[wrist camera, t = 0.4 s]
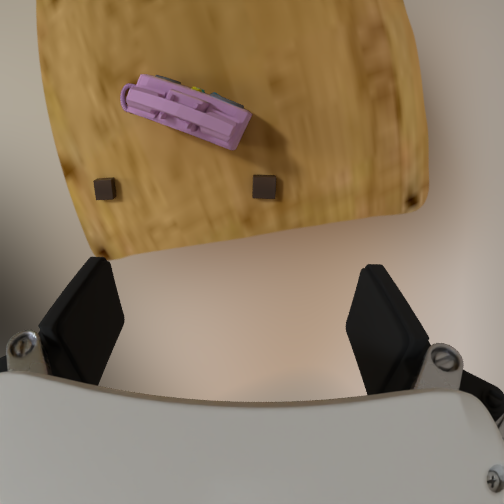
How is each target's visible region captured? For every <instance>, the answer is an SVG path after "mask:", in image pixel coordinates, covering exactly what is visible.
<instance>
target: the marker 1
mask: <svg viewBox="0 0 504 504" xmlns="http://www.w3.org/2000/svg"><path fill="white" fill-rule="evenodd" d="M94 188H95V195H96V200H110V199H114V198H115V197H116V190H115V182H114V178H100V179H96V180H94Z"/></svg>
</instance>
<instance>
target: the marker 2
mask: <svg viewBox="0 0 504 504" xmlns="http://www.w3.org/2000/svg"><path fill="white" fill-rule="evenodd" d="M275 192H276V176H275V175H253V198H263V199H275Z"/></svg>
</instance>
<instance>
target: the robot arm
mask: <svg viewBox="0 0 504 504" xmlns="http://www.w3.org/2000/svg"><path fill="white" fill-rule="evenodd" d="M123 325H124V314H123V310H122V307H121V303H120V299H119V296H118V292H117V288H116V284H115V280H114V276H113V272H112V268H111V264H110V262H109V261H107V260H106V258H104V257H90V258H89V259H88V260H87V262H86V263H85V264H84V265H83V267H82V268H81V269H80V270H79V271H78V273H77V274H76V275H75V276H74V278H73V279H72V280H71V282H70V283H69V284H68V285H67V287H66V288H65V289H64V291H63V292H62V293H61V295H60V296H59V297H58V299H57V300H56V301H55V303H54V304H53V306H52V307H51V308H50V309H49V311H48V312H47V314H46V315H45V317H44V318H43V320H42V321H41V322H40V324H39V328H40V332H39V333H36V332H35V331H33V330H24V331H21V332H19V333H17V334H15V335H14V336H13V337H12V338H11V339H10V340H9V342H8V344H7V348H6V356H4V357H1V358H0V504H504V394H503V392H502V391H501V390H500V389H499V388H498V387H496V386H494V385H492V384H490V383H488V382H486V381H484V380H482V379H480V378H478V377H476V376H474V375H472V374H470V373H469V372H466V371H465V370H463V360H462V357H461V355H460V354H459V352H458V351H457V350H456V349H454V348H453V347H451V346H450V345H447V344H444V343H436V344H433V345H430V343H429V341H428V340H429V337H428V335H427V333H426V331H425V330H424V328H423V326H422V325H421V323H420V322H419V320H418V318H417V317H416V315H415V313H414V312H413V311H412V309H411V307H410V305H409V304H408V302H407V301H406V299H405V298H404V296H403V295H402V293H401V292H400V290H399V289H398V287H397V286H396V284H395V283H394V281H393V280H392V278H391V277H390V275H389V274H388V272H387V271H386V269H385V268H384V266H383V265H380V264H379V265H378V264H368V265H367V266H366V267H365V268H363V269H362V270H361V272H360V276H359V280H358V284H357V287H356V291H355V294H354V298H353V301H352V305H351V308H350V312H349V315H348V318H347V322H346V332H347V335H348V338H349V341H350V343H351V346H352V349H353V352H354V355H355V358H356V361H357V364H358V367H359V370H360V373H361V376H362V379H363V382H364V385H365V388H366V392H367V395H366V396H357V397H348V398H338V399H328V400H312V401H292V402H230V401H209V400H195V399H184V398H174V397H165V396H156V395H149V394H142V393H135V392H129V391H123V390H117V389H112V388H106V387H101V386H98V384H99V382H100V379H101V377H102V374H103V372H104V369H105V367H106V364H107V362H108V360H109V357H110V355H111V353H112V350H113V348H114V346H115V343H116V341H117V339H118V336H119V334H120V332H121V330H122V327H123Z"/></svg>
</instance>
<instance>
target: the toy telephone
mask: <svg viewBox="0 0 504 504" xmlns="http://www.w3.org/2000/svg"><path fill="white" fill-rule="evenodd" d="M180 84H181V82H178V81H175V80H172V79H169V78H166V77H163V76H159V75H156V76H151V75H147V74H143V75H142V74H141V75H140V77H139V80H138V82H137V85H134V84H126V85H125V86H124V87H123V89H122V92H121V97H120V99H121V106H122V108H123V109H125V108H126V109H125V110H124V111H126V112H130V113H133V114H136V115H139V116H142V117H144V118H147V119H150V120H153V121H156V122H159V123H161V124H164V125H167V126H169V127H172V128H175V129H177V130H180V131H183V132H186V133H188V134H191V135H194V136H196V137H199V138H201V139H204V140H206V141H209V142H212V143H214V144H216V145H219V146H222V147H224V148H227V149H230V150H235V149H236V148H237V145H238V143H239V141H240V139H241V137H242V135H243V133H244V131H245V129H246V127H247V124H248V122H249V120H250V118H251V116H252V114H251V113H250V112H249V111H248V110H245V109H243V107H244V106H243V105H241V104H238V103H236V102H233V101H231V100H229V99H226V98H224V97H221V96H220V95H218V94H217V93H215V92H214V93H211V94H210V95H208V94H206V93H205V92H204V90H202V89H199V88H197V87H193V88H189V87H186V86H183V85H180ZM128 88H130V89H129V92H128V95H127V98H126V102H127V104H128V107H127V105H126V104H125V103H126V102H125V92H126V90H127V89H128ZM122 103H123V104H122ZM123 105H124V106H123Z"/></svg>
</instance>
